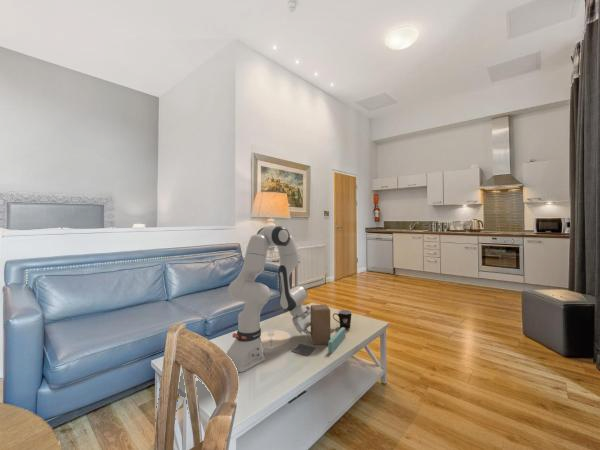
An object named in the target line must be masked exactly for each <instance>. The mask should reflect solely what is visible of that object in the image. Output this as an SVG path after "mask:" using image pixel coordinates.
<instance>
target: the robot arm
mask: <svg viewBox="0 0 600 450" xmlns="http://www.w3.org/2000/svg"><path fill="white" fill-rule="evenodd" d="M295 241H296V240H295V239H294V237H293V236H292V235H290V232H289V230H288V229H287V228H286V227H284V226H280V225H279V226H277V225H276V226H275V225H274V226H273V225H272V226H271V225H270V226H264V227H261V228H260V229H259V230H258V231H257V233H256V234H253V235H251V237H250V239H249V241H248V244H247V245H246V246H247V247H246V251H245V256H244V259H243V263H242V268H241V270H240V272H239V274H238V276H237V277H236V278H235V279H234V280H232V281H231V282H230V284H229V285H228V289H227V293H228V295H229V296H230V298H232V299H233V300H235V301H238V302H242V303H244V307H243V310H241V311H240V312H239V313H238V315H237V318H238V319H237V321H238V322H237V323H238V324H237V326H238V327H237V330H236V333H235V332H234V333H232V335H231V336H232V338H235V339H234V341H233V343H232V344H231V345H230V347H229V348H228V350H227V351H226V355H228V356H229V357H230V358H231V359H232V361H233V362H234V364H235V366H236V368H237V371H238V372H237V373H243V372H246V371H247V370H250V369H251V368H253V367H255V366H257V365H258V364H260V363H262V362H264V361H265V360H266V358H265V356H264V349H263V347H264V346H263V341H262V340H261V339H262V338H261V336H262V329H261V312H262V309H263V307H264V306H265V305H266V304H267V303H268V302H269V300H270V298H271V289H270V287H268V286H267V285H266V284H264V283H261V282H256V279H257V278H258V276H259V275H261V274H262V273H264V270H265V265H266V260H267V255H268V249H269V247H277V251H278V256H279V267H278V270H277V273H278V274H277V275H278V286H279V305H280V307H281V308H282V310H284V311H287V312H289V314H290V315H291V316H292V318H291V319H292V321H291V322H292V323H293V325H294V327H295V330H296V331H297V332H298V333H300V334H302V333H304V334H306V335H307V336H308V337H310V338H311V335H312V333H311V331H309V330H308V328H309V327H311V313H310V307H311V306H306V305H303V304H302V303H304V302H305V301H306V299H308V292H307V289H306V288H305V287H304V286H302V285H297V286H295V287H293V288H290V287H291V285H290V276H291V274H292V272H293V271H294V269H295V268H296V267H297V266H298V264H299V262H300V261H299V260H300V257H299V256H300V255H299V252H298V247H297V244H296V242H295Z"/></svg>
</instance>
